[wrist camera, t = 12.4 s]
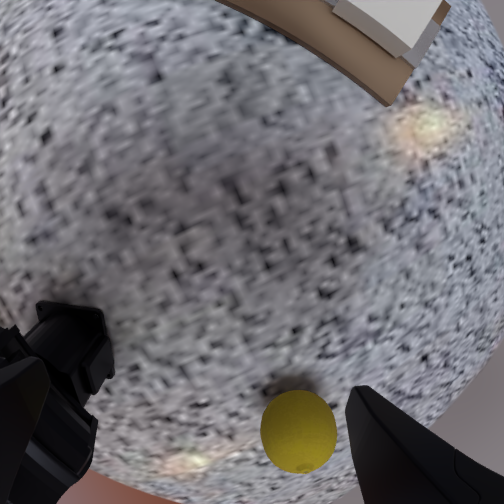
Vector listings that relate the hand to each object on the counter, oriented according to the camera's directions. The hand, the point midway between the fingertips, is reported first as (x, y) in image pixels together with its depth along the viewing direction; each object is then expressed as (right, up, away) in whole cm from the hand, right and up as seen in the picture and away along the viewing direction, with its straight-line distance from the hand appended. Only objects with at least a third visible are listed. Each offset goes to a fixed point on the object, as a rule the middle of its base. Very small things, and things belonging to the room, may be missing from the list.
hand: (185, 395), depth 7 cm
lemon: (+5, -8, +16) cm, 19 cm away
